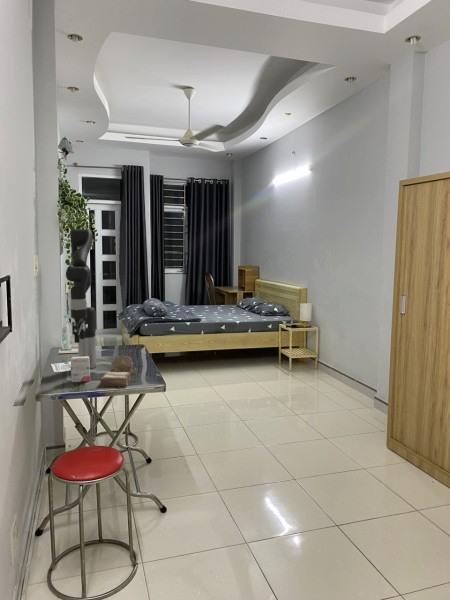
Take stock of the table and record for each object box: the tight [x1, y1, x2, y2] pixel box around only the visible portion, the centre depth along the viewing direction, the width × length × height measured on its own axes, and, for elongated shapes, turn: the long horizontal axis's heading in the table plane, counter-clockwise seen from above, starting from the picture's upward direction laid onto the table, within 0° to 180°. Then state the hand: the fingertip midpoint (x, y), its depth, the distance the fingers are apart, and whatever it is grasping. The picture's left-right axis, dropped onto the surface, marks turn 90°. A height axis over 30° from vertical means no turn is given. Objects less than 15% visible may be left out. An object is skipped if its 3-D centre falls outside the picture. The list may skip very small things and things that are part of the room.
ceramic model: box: [109, 354, 138, 376], centre depth 243 cm, size 14×11×10 cm
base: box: [99, 371, 132, 387], centre depth 225 cm, size 12×12×4 cm
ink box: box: [70, 356, 91, 383], centre depth 228 cm, size 9×5×12 cm, turn 102°
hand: (79, 340), depth 227 cm, fingers open, 8 cm apart
